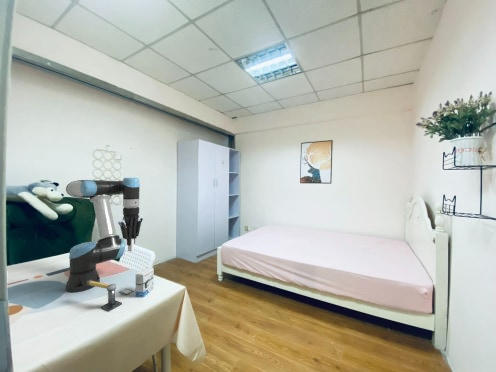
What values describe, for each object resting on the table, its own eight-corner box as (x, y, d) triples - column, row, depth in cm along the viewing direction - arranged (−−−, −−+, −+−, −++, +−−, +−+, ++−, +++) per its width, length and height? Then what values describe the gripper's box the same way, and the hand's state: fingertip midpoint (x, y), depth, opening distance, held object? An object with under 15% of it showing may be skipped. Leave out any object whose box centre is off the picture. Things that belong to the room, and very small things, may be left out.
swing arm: (110, 292, 95) (110, 287, 95) (83, 286, 100) (83, 282, 100) (117, 288, 98) (117, 284, 98) (91, 282, 103) (91, 278, 103)
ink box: (143, 297, 105) (143, 274, 104) (135, 296, 106) (134, 273, 105) (154, 288, 113) (154, 267, 113) (146, 288, 114) (146, 267, 114)
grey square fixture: (101, 308, 96) (100, 291, 95) (113, 301, 101) (113, 285, 101) (109, 311, 93) (109, 294, 93) (122, 304, 99) (121, 287, 98)
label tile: (119, 293, 109) (119, 291, 109) (126, 289, 112) (126, 288, 112) (126, 295, 106) (126, 294, 106) (133, 291, 110) (133, 290, 110)
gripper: (124, 209, 101) (124, 256, 102) (146, 206, 113) (146, 248, 114) (114, 207, 104) (114, 253, 105) (136, 205, 116) (136, 246, 117)
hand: (130, 250), depth 109 cm, fingers closed
